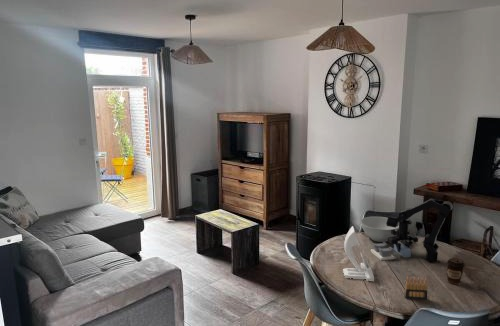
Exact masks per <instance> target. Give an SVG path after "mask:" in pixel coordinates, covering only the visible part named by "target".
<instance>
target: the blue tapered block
mask: <svg viewBox="0 0 500 326" xmlns="http://www.w3.org/2000/svg"><path fill="white" fill-rule="evenodd" d="M400 244H401V247H400V252H398V251H397V247H396V245H395V244H393V251H395V253H398V254H399V255H400V256H401V257H403V258H410V257H411V256H412V255H411V253H412V249H411V248H410V247H409V248H408V247H407V246H405V243H402V241H400ZM411 258H412V257H411Z"/></svg>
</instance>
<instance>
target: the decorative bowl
mask: <svg viewBox="0 0 500 326" xmlns="http://www.w3.org/2000/svg"><path fill="white" fill-rule="evenodd" d="M387 219H388V217H384V216H377V215H376V216H367V217H363V218H362V219H361V220H360V225H361V227H362V230H363V231H364V233H365V235H367V236H368V237H369V238H370V239H371V240H372V241H375V242H379V243H383V242H385V243H387V242H388V241H387V239H388V237H395V236H394V235H392V234H391V230H395V231H397V230H398V229H399V225H398V227H396V228H394V227H390V226H387V225H386V222H387Z"/></svg>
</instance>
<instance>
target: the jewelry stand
mask: <svg viewBox="0 0 500 326" xmlns="http://www.w3.org/2000/svg"><path fill="white" fill-rule="evenodd" d="M355 246H361V244H360V242H359V238H358V235H357V233H356V230H355V228H354V226H353V225H352V226H351V227H350V228H349V230H348V232H347V233H346V234H345V238H344V242H343V249H344V251H345V254H346V256H347V257H348V259H349V261H350V263H352V264H353V266H354V267H355V268H354V267H353V268H351V267H350V268H349V267H346V268H343V269H342V273H344V274H343V277H344V276H345V277H344V279H347V278H350V279H349V280H364V279H366V280H365V281H366V282H369V281H373V282H375V277H374V273H373V271H372V268H371V266H370V264H369V262H368V259H364V255H363V253H360V256H361V259H362V262H360V265H359V263H358V262H357V260H356V257H355V256H354V253H353V248H354V247H355ZM351 278H353V279H351Z"/></svg>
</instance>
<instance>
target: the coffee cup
mask: <svg viewBox="0 0 500 326" xmlns="http://www.w3.org/2000/svg"><path fill="white" fill-rule="evenodd" d="M446 263H447V264H446V265H447V267H446V271H447V272H446V275H447V276H446V277H447V281H446V282H448V283H449V284H452V285H461V280H462V276H463V272H464V267H465V265H466V264H465V263H464V260H463V259H460V258H455V257H452V258H448V260H447V262H446Z"/></svg>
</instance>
